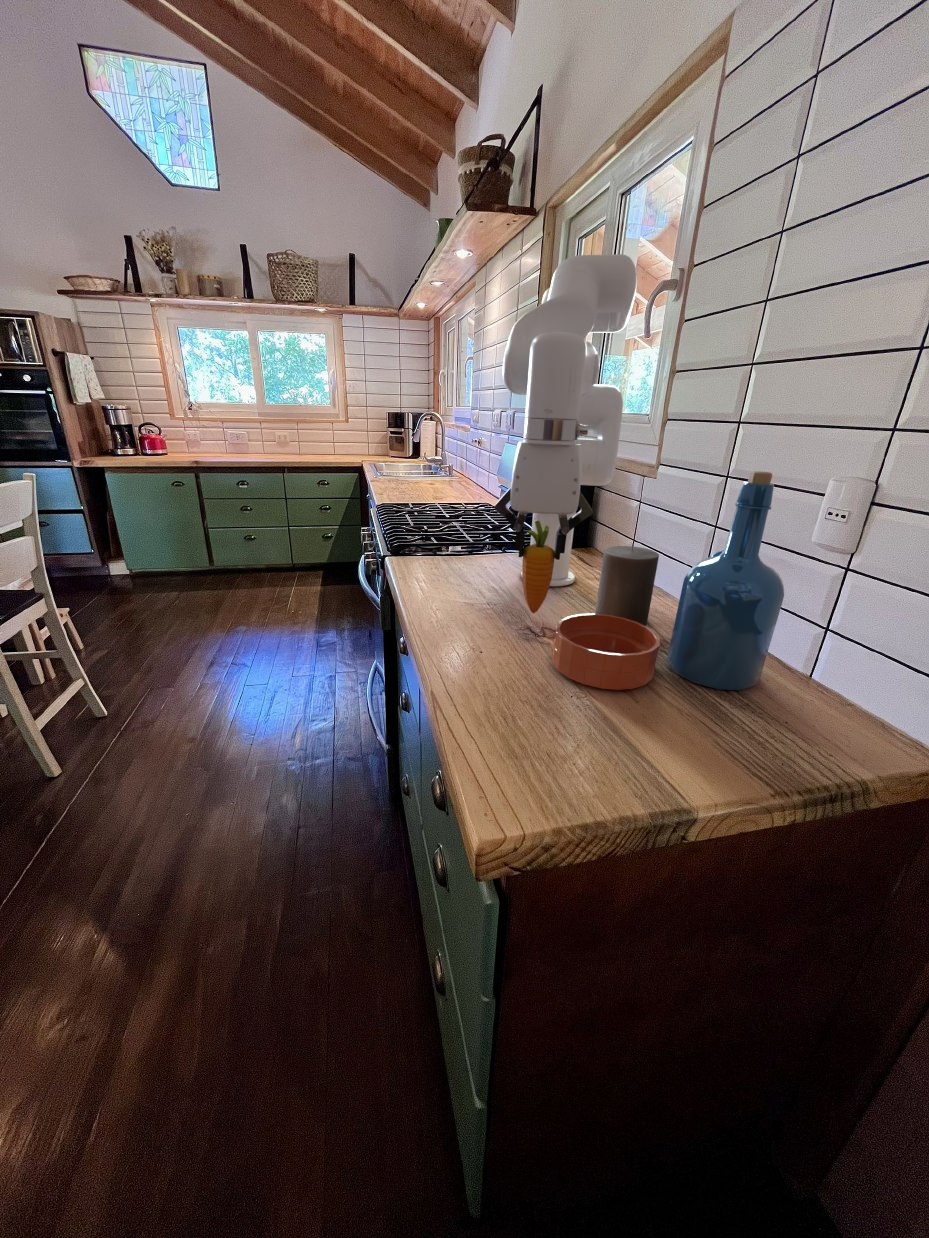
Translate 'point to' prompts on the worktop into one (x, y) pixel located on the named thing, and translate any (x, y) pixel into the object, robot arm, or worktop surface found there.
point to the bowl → (605, 651)
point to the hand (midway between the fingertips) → (538, 555)
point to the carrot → (537, 568)
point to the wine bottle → (730, 602)
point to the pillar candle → (627, 582)
